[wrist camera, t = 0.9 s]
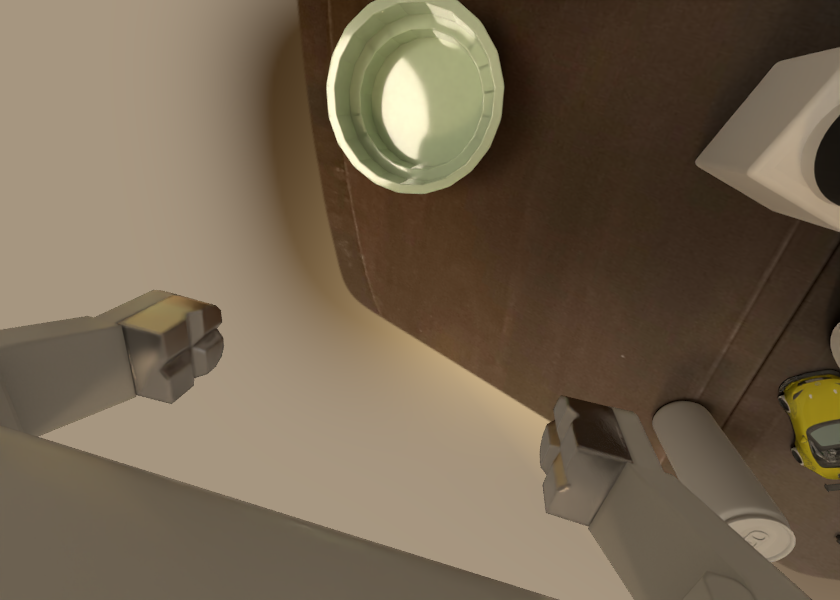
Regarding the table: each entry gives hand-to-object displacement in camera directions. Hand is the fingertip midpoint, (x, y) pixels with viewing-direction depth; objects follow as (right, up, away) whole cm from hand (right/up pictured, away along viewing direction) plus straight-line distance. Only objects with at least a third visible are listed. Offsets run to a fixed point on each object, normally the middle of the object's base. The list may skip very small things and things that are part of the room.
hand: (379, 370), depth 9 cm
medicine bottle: (+25, +13, +17) cm, 33 cm away
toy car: (+36, -9, +24) cm, 44 cm away
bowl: (+2, +16, +20) cm, 26 cm away
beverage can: (+25, -9, +27) cm, 38 cm away
